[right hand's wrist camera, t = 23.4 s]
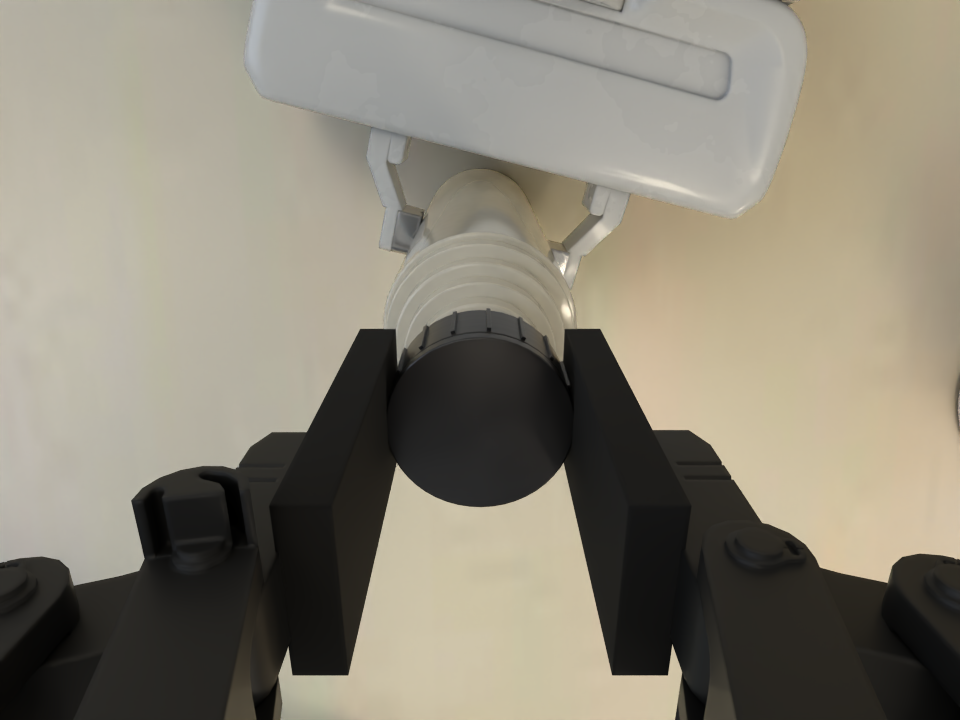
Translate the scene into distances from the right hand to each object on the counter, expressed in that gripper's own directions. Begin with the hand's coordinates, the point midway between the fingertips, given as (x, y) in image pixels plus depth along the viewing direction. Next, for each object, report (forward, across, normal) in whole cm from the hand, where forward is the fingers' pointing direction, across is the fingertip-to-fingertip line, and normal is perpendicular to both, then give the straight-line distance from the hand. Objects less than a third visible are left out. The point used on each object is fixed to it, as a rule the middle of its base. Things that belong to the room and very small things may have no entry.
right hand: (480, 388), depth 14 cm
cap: (-2, 0, 0) cm, 2 cm away
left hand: (+14, 0, -1) cm, 14 cm away
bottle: (+20, 0, 0) cm, 20 cm away
